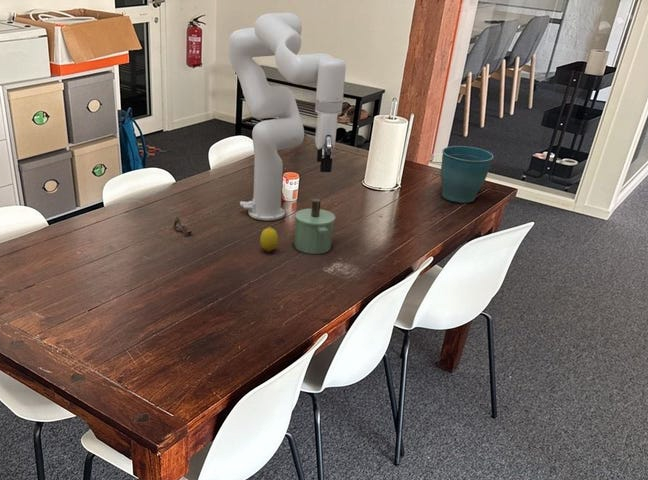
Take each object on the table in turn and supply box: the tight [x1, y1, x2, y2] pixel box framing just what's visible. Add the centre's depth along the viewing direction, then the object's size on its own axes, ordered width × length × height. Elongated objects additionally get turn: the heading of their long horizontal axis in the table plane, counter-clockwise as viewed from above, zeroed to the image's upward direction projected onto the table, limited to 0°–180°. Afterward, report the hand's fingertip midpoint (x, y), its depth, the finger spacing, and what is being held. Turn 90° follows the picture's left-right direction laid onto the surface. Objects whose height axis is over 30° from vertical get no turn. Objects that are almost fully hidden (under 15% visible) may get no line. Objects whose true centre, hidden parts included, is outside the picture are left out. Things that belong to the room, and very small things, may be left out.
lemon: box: [259, 226, 279, 253], centre depth 208 cm, size 6×6×8 cm
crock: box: [294, 219, 334, 255], centre depth 212 cm, size 11×17×10 cm
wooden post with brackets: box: [172, 215, 192, 237], centre depth 220 cm, size 2×8×4 cm, turn 44°
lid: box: [294, 198, 336, 225], centre depth 208 cm, size 12×12×6 cm
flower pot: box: [440, 145, 495, 204], centre depth 252 cm, size 18×18×17 cm
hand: (323, 166), depth 201 cm, fingers open, 9 cm apart
